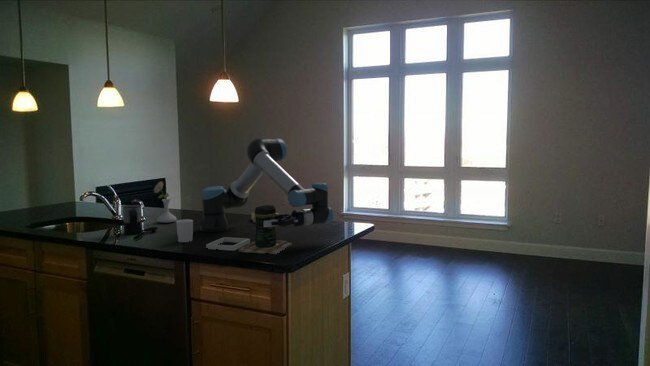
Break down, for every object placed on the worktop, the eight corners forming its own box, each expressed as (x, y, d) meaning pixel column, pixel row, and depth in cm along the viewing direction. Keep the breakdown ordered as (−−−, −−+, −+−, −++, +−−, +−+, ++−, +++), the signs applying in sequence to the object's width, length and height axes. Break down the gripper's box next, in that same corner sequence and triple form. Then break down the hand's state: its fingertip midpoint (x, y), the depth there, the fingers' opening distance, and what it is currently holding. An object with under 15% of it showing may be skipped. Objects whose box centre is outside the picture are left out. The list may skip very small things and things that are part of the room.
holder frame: (206, 248, 216) (206, 244, 216) (223, 241, 231) (223, 237, 231) (233, 250, 212) (233, 246, 212) (250, 242, 227) (249, 238, 227)
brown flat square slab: (238, 251, 210) (238, 247, 210) (256, 242, 227) (256, 238, 227) (276, 254, 205) (276, 249, 204) (291, 245, 222) (291, 240, 221)
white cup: (184, 243, 228) (183, 222, 227) (173, 241, 232) (172, 221, 231) (197, 240, 234) (196, 220, 233) (186, 238, 239) (185, 218, 238)
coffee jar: (265, 249, 209) (264, 207, 208) (252, 247, 214) (251, 206, 212) (279, 244, 217) (278, 204, 216) (266, 243, 222) (265, 203, 220)
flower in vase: (169, 220, 293) (167, 179, 291) (181, 221, 286) (179, 180, 284) (150, 223, 282) (148, 181, 280) (162, 225, 276) (160, 182, 273)
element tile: (250, 219, 294) (250, 212, 293) (274, 217, 300) (274, 210, 299) (257, 223, 280) (257, 215, 279) (281, 221, 286) (281, 213, 285)
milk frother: (120, 233, 254) (119, 205, 252) (148, 229, 265) (147, 202, 263) (132, 237, 244) (131, 208, 242) (161, 232, 255) (160, 205, 254)
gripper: (313, 229, 212) (268, 234, 202) (291, 221, 234) (249, 225, 224) (313, 213, 211) (268, 217, 202) (290, 206, 233) (249, 209, 224)
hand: (258, 221), depth 213 cm, fingers open, 13 cm apart
